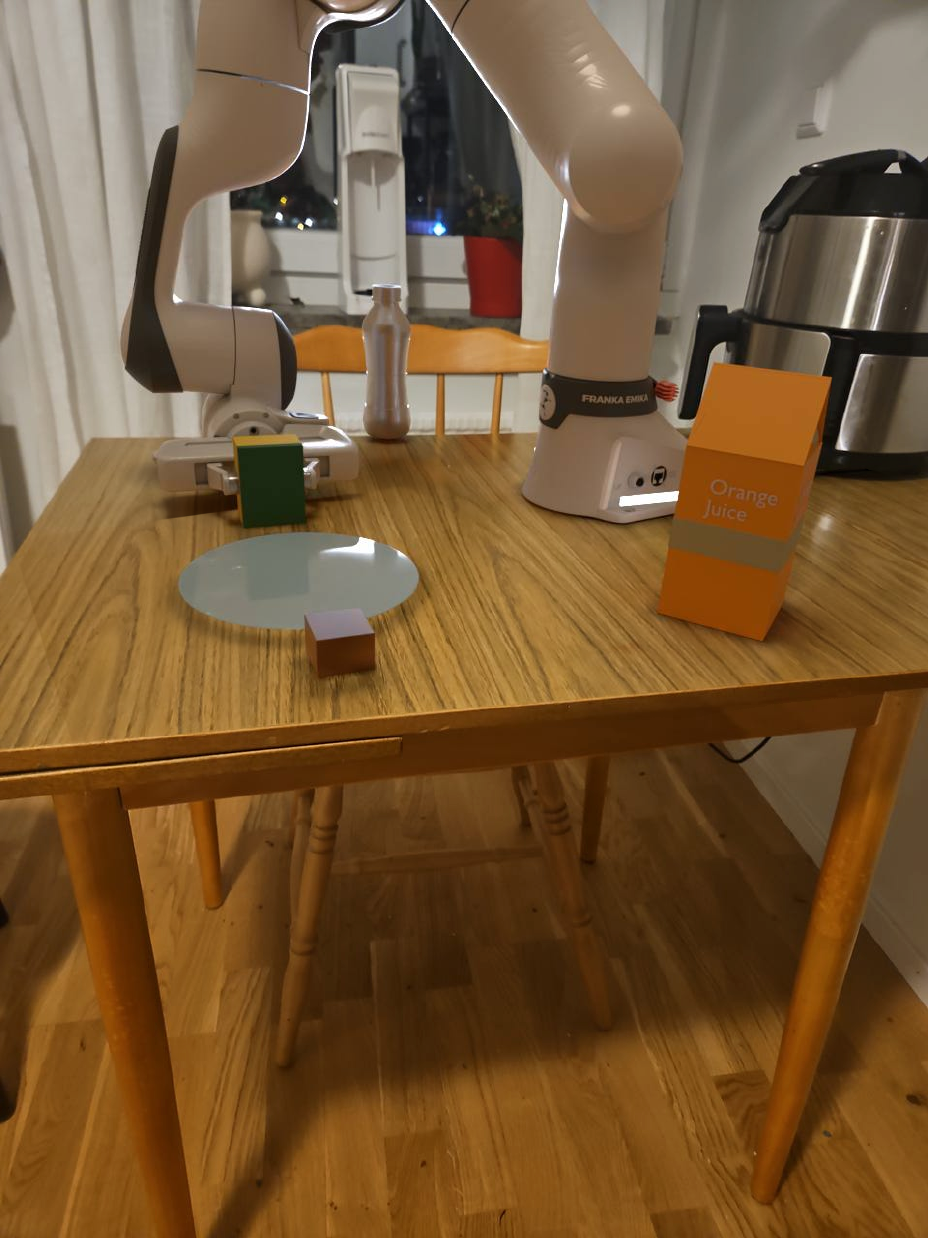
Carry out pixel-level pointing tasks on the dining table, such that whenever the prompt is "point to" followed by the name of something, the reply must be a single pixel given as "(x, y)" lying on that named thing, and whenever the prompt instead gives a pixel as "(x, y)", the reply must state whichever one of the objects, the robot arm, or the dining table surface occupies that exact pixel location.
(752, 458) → the orange juice
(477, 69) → the robot arm
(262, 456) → the sponge
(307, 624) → the brown cube
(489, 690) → the dining table surface
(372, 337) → the plastic bottle
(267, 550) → the plate
